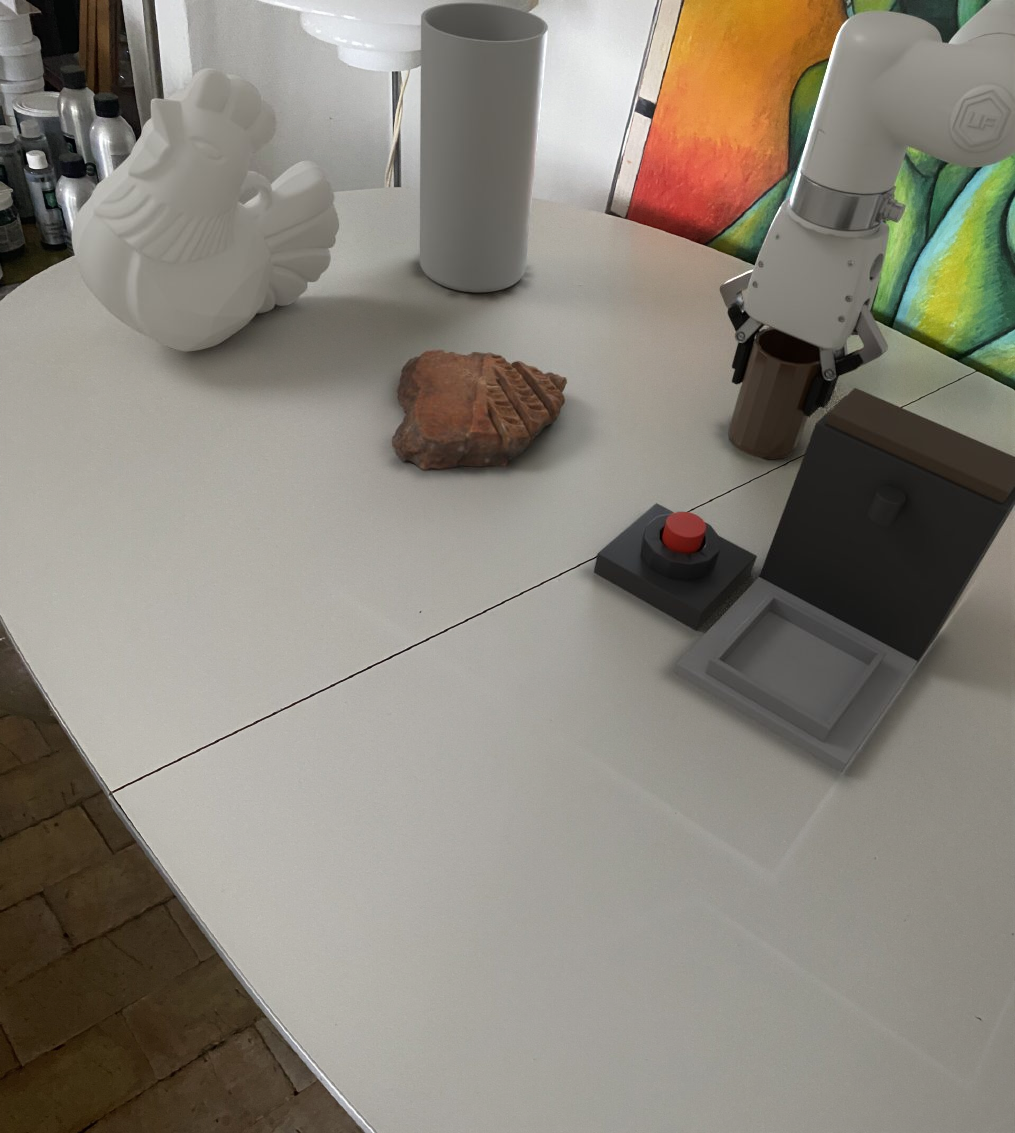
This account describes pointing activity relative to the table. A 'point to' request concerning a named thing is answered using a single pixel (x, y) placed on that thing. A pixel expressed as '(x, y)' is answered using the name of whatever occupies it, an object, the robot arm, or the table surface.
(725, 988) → the table surface
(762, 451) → the brown cup
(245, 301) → the decorative rooster
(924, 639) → the coffee maker
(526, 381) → the pottery shard
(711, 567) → the black button housing
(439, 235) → the cylinder vase
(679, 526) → the button
